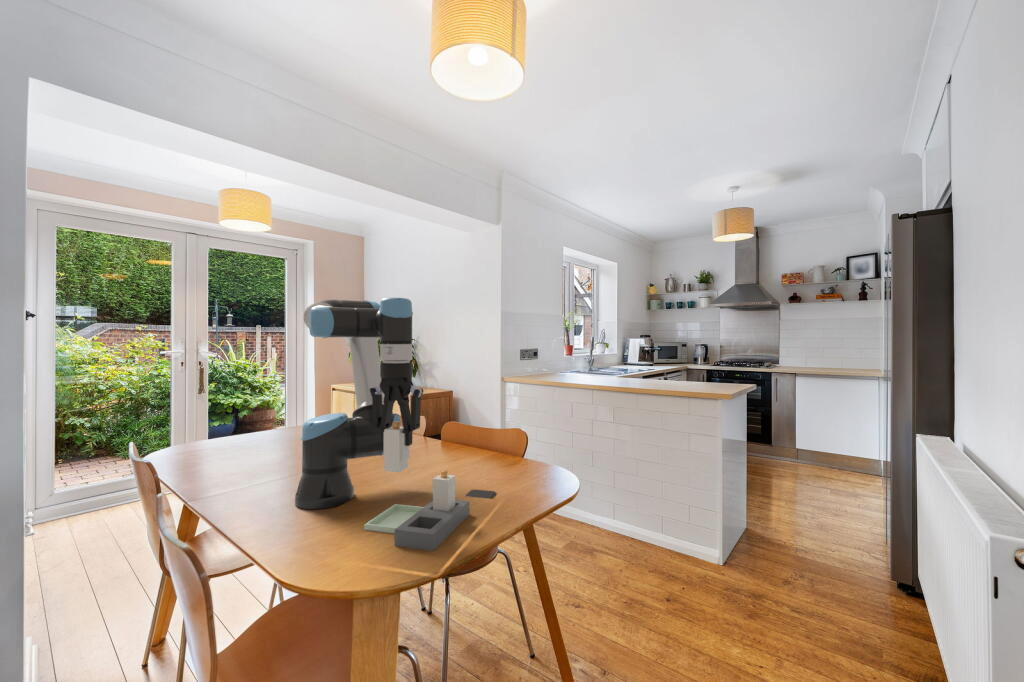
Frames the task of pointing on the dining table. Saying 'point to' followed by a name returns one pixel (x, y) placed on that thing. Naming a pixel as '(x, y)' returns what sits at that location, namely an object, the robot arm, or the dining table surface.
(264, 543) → the dining table surface
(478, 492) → the smartphone
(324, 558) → the dining table surface
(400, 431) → the plug
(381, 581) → the dining table surface
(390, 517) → the tray
